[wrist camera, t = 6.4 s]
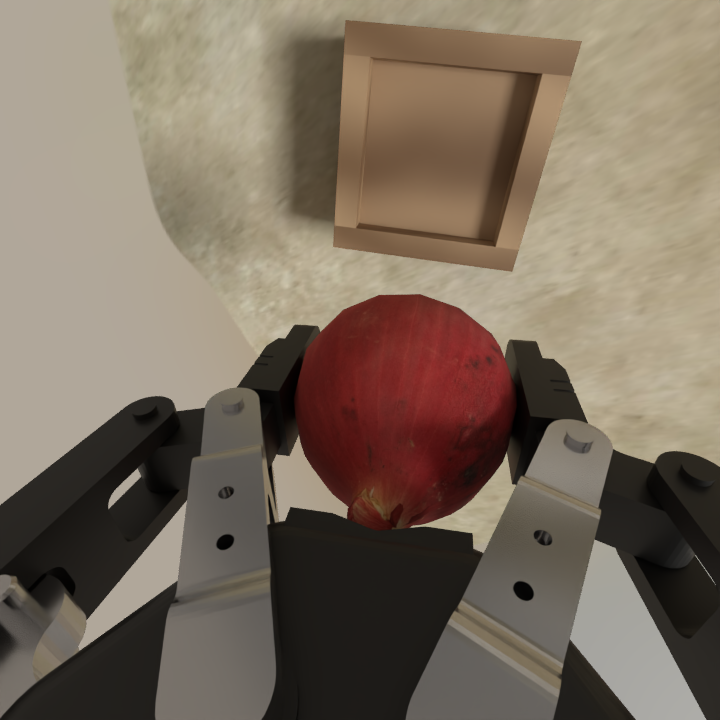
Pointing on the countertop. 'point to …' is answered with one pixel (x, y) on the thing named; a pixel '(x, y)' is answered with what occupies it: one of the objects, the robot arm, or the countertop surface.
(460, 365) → the onion
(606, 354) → the countertop surface
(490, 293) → the countertop surface
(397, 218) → the wooden box
